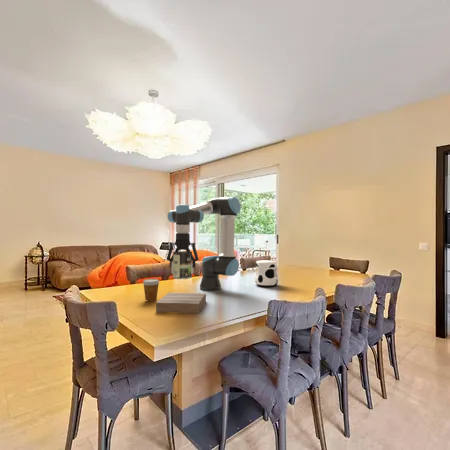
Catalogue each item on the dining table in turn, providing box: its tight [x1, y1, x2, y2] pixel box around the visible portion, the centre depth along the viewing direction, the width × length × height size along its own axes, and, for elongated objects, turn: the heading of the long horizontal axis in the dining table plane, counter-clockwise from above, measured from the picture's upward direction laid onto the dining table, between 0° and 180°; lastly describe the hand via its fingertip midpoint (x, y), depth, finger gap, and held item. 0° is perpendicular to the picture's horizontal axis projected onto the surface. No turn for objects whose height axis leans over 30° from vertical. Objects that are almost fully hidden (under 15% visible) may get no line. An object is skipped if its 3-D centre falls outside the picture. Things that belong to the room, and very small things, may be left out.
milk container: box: [254, 259, 279, 288], centre depth 209 cm, size 17×17×18 cm
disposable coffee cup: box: [142, 278, 160, 302], centre depth 166 cm, size 10×10×12 cm
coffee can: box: [172, 250, 193, 280], centre depth 153 cm, size 10×10×14 cm
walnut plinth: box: [155, 292, 207, 314], centre depth 152 cm, size 22×22×5 cm
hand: (182, 273), depth 153 cm, fingers closed on coffee can, 10 cm apart
